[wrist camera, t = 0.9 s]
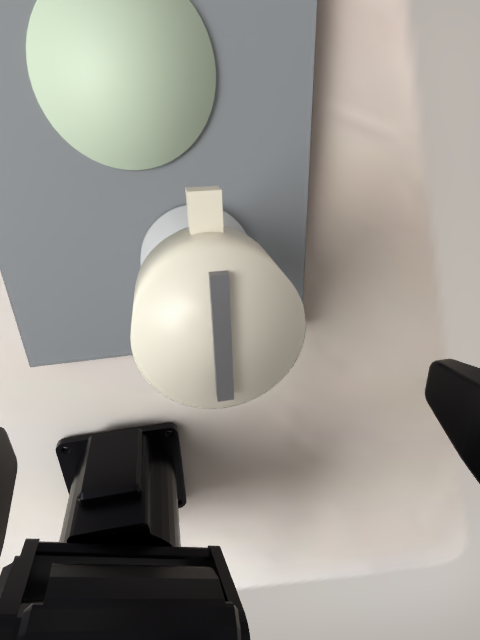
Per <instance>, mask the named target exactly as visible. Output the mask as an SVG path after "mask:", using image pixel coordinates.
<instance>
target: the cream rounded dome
mask: <svg viewBox="0 0 480 640" xmlns="http://www.w3.org/2000/svg"><path fill="white" fill-rule="evenodd" d="M185 191H186V203H187V215H188V227H189V228H186V229H183V230H181V231H178V232H176V233H174V234H172V235H170V236H169V237H167V238H165V239H164V240H163V241H161V242H160V243H159V244H158V245H157V246H156V247H155V248H154V249H153V250H152V251H151V252H150V253H149V255H148V256H147V257H146V259H145V260H144V262H143V264H142V266H141V268H140V270H139V273H138V275H137V279H136V284H135V292H134V302H133V312H132V322H131V335H130V340H131V349H132V353H133V357H134V360H135V362H136V365H137V367H138V369H139V371H140V372H141V374H142V375H143V377H144V378H145V379H146V380H147V382H148V383H149V384H150V385H151V386H152V387H153V388H154V389H155V390H157V391H158V392H159V393H161V394H162V395H164V396H165V397H167V398H169V399H171V400H173V401H175V402H178V403H180V404H183V405H187V406H191V407H196V408H205V409H216V408H226V407H231V406H236V405H239V404H243V403H246V402H248V401H250V400H253V399H255V398H257V397H259V396H261V395H262V394H264V393H266V392H267V391H269V390H270V389H271V388H273V387H274V386H275V385H276V384H277V383H279V382H280V381H281V380H282V379H283V378H284V376H285V375H286V374H287V373H288V372H289V370H290V369H291V368H292V366H293V365H294V363H295V361H296V359H297V358H298V356H299V353H300V351H301V348H302V345H303V341H304V337H305V329H306V318H305V312H304V307H303V304H302V301H301V298H300V296H299V294H298V292H297V290H296V289H295V287H294V286H293V284H292V283H291V281H290V280H289V279H288V278H287V277H286V275H285V274H284V273H283V272H282V271H281V269H280V268H279V267H278V266H277V265H276V263H275V262H274V261H273V260H272V259H271V257H270V256H269V255H268V254H267V253H266V251H265V250H264V249H263V248H262V247H261V246H260V245H259V244H258V243H257V242H256V241H255V240H253V239H252V238H251V237H249V236H248V235H246V234H244V233H242V232H240V231H238V230H235V229H233V228H229V227H225V226H223V207H222V190H221V188H220V187H219V186H203V187H185Z"/></svg>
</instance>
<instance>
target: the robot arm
mask: <svg viewBox="0 0 480 640" xmlns="http://www.w3.org/2000/svg"><path fill="white" fill-rule="evenodd" d="M425 397H426V400H427V402H428V404H429V406H430V408H431V409H432V411H433V413H434V414H435V416H436V418H437V419H438V421H439V423H440V424H441V426H442V428H443V429H444V431H445V433H446V434H447V436H448V438H449V439H450V441H451V443H452V444H453V446H454V448H455V449H456V451H457V452H458V454H459V456H460V457H461V459H462V460H463V462H464V463H465V464H466V466H467V467H468V469H469V470H470V471H471V473H472V474H473V475H474V477H475V478H476V480H477V481H478V482H479V484H480V368H477V367H474V366H471V365H468V364H465V363H462V362H459V361H456V360H453V359H444V360H438V361H434V362H432V364H431V365H430V368H429V373H428V378H427V383H426V388H425ZM167 431H171V432H172V433H166V432H167ZM63 447H69V448H68V449H65V448H63ZM56 454H57V457H58V460H59V463H60V467H61V470H62V473H63V476H64V480H65V483H66V486H67V489H68V493H69V500H68V504H67V509H66V513H65V518H64V523H63V527H62V532H61V536H60V541H59V542H41V541H39V539H26V540H25V543H24V546H23V549H22V552H21V555H20V556H15V558H14V561H13V563H11V564H9V565H7V566H5V567H3V569H2V572H1V575H0V640H250V633H249V628H248V623H247V619H246V616H245V612H244V610H243V607H242V604H241V601H240V599H239V596H238V593H237V591H236V588H235V585H234V583H233V580H232V577H231V575H230V572H229V569H228V567H227V564H226V561H225V559H224V556H223V553H222V551H221V548H220V546H208V548H202V547H181V544H180V529H179V514H178V508H181V507H183V506H184V505H185V504H186V493H185V485H184V476H183V468H182V460H181V452H180V444H179V436H178V428H177V426H176V425H175V424H173V423H164V424H158V425H151V426H144V427H137V428H130V429H124V430H117V431H110V432H103V433H96V434H89V435H83V436H76V437H69V438H64V439H61V440H60V441H59V442H58V444H57V447H56ZM16 474H17V459H16V456H15V453H14V451H13V448H12V445H11V443H10V440H9V437H8V435H7V432H6V431H5V429H4V428H2V427H0V556H1V552H2V548H3V544H4V539H5V534H6V529H7V523H8V518H9V512H10V507H11V501H12V496H13V490H14V485H15V479H16Z"/></svg>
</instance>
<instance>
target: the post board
mask: <svg viewBox="0 0 480 640" xmlns="http://www.w3.org/2000/svg"><path fill="white" fill-rule="evenodd" d="M316 13H317V0H0V271H1V274H2V277H3V280H4V284H5V287H6V290H7V293H8V297H9V300H10V303H11V306H12V310H13V313H14V316H15V319H16V323H17V326H18V329H19V332H20V336H21V339H22V342H23V345H24V349H25V352H26V355H27V358H28V362H29V365H30V367H36V366H44V365H53V364H61V363H69V362H78V361H86V360H95V359H103V358H111V357H120V356H128V355H133V353H132V349H131V340H130V335H131V322H132V312H133V302H134V292H135V284H136V279H137V275H138V273H139V270H140V268H141V266H142V264H143V262H144V260H145V259H146V257H147V256H148V255H149V253H150V252H151V251H152V250H153V249H154V248H155V247H156V246H157V245H158V244H159V243H160V242H161V241H163V240H164V239H165V238H167V237H169V236H170V235H172V234H174V233H176V232H178V231H181V230H183V229H186V228H189V227H188V215H187V203H186V191H185V187H203V186H219V187H220V188H221V190H222V207H223V226H225V227H229V228H233V229H235V230H238V231H240V232H242V233H244V234H246V235H248V236H249V237H251V238H252V239H253V240H255V241H256V242H257V243H258V244H259V245H260V246H261V247H262V248H263V249H264V250H265V251H266V253H267V254H268V255H269V256H270V257H271V259H272V260H273V261H274V262H275V263H276V265H277V266H278V267H279V268H280V269H281V271H282V272H283V273H284V274H285V275H286V277H287V278H288V279H289V280H290V281H291V283H292V284H293V286H294V287H295V289H296V290H297V292H298V294H299V296H300V298H301V301H302V304H303V285H304V264H305V243H306V222H307V201H308V180H309V160H310V139H311V118H312V97H313V76H314V55H315V34H316Z"/></svg>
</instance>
